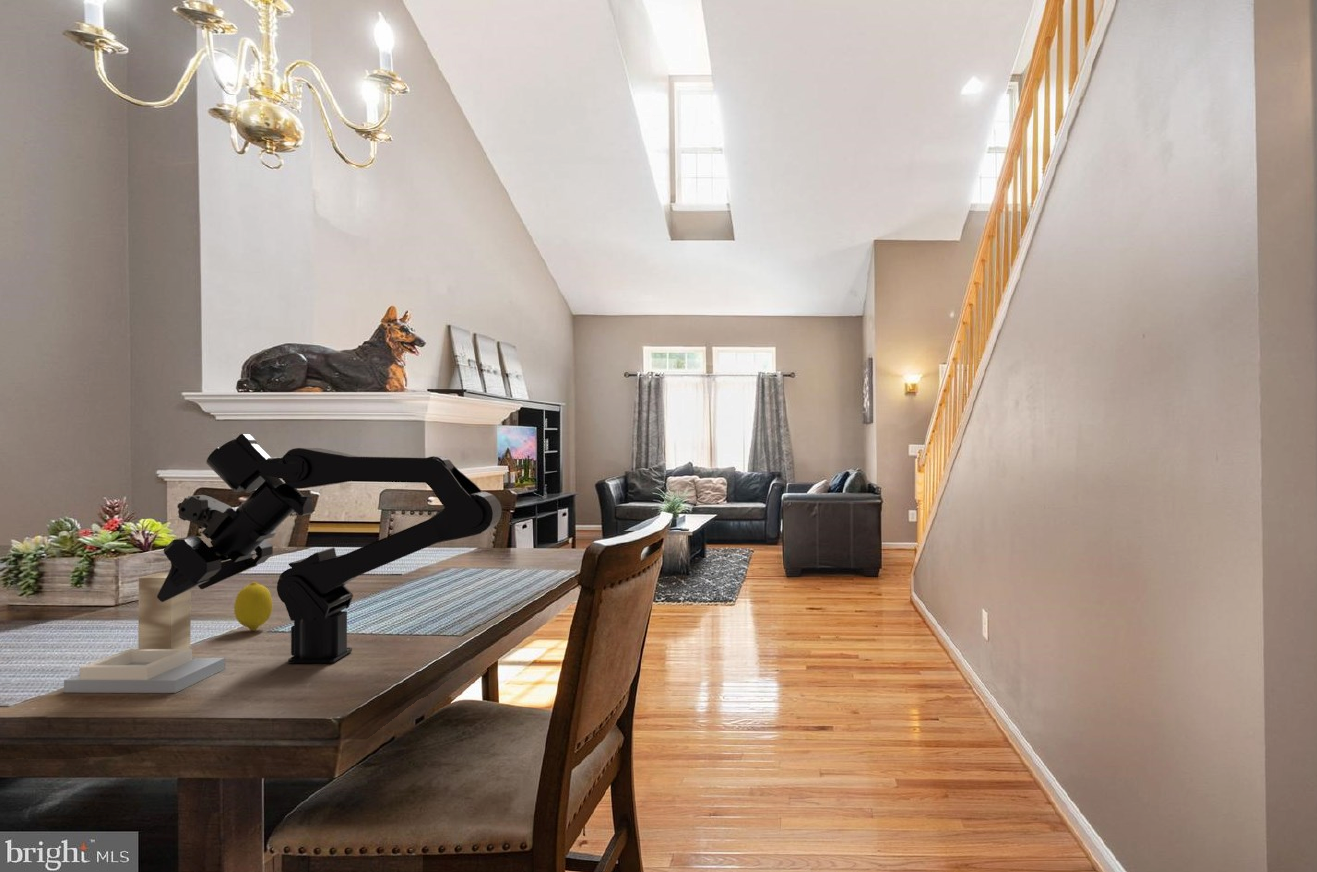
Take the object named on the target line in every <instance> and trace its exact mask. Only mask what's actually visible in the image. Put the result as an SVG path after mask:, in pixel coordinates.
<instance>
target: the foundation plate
mask: <svg viewBox="0 0 1317 872" xmlns="http://www.w3.org/2000/svg"><path fill="white" fill-rule="evenodd" d="M224 670H226V657H193V649H192V648H190V649H138V648H129V649H126V650H124V651H121V652H118V653H116V654H112V655H110V656H107V657H105V658H102V659H99V660H96V661H93V662H91V663H90V662H89V663H88V664H85V665H82V666H80V667H79V674H77V675H75V676H72V677H69V678H66V679H64V680H63V693H86V694H87V693H88V694H90V693H96V694H97V693H98V694H99V693H103V694H104V693H106V694H107V693H113V694H115V693H116V694H118V693H124V694H127V693H130V694H133V693H137V694H139V693H140V694H143V693H144V694H146V693H147V694H149V693H150V694H155V693H156V694H170V693H171V694H172V693H173V694H176V693H178V692H180V691H182V690H184V689H187V688H189V687H191V686H192V685H195V684H197V683H199V682H201V681H203V680H205V679H208V678H209V677H211V676H213V675H216V674H217V673H219V672H222V671H224Z"/></svg>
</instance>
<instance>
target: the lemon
mask: <svg viewBox="0 0 1317 872" xmlns="http://www.w3.org/2000/svg"><path fill="white" fill-rule="evenodd" d="M273 607H274V606H273V598H272V594H271V592H270V590H269V589H268V588H267V587H266V586H265V585H263V584H259V583H257V581H252V582H250V583H249V584H248V585H246V586H245V587H243V588H241V589H240V591H239V592H238V593H237V595H236V599H235V602H234V608H233V609H234V616H235V619H236V621H238V623H240V625H242V626H243V627H246V628H248V629H249V630H250V631H256V630H258V628H259V627H261V626H262V625H264V624H265V623H266V622H268V620H269V619H270V617H271V616H272V613H273Z"/></svg>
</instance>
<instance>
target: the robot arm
mask: <svg viewBox="0 0 1317 872" xmlns="http://www.w3.org/2000/svg"><path fill="white" fill-rule="evenodd" d="M206 464H207V465H208V467H209V468H210V469H212V471H214V473H215V474H216V475H218V477H219V478H220V479H221V480H223V482H224V483H225V484H226V485H227V486H228V487H229V488H230V489H231V490H232V491H233V492H234V493H241V492H245V493H246V494H249V493H251V494H250V495H249V496H248V497H247V499H245V500H244V501H243V502H242V503H241V504H240V505H239V506H235V507H233V506H231V505H229V504H226V503H224V502H222V501H221V500H219V499H216V498H214V497H211V496H208V495H205V494H197V495H196V494H195V495H189V496H187V497H184V498H183V500H182V502H179V503H178V504H177V509H178V512H177V513H178V519H180V520H182V521H183V522H184V521H188V522H190V523H192V524H194V525H196V526H199V527H201V528H204V529H203V530H202V532H201V534H203V535H204V537H205V538H206V539H210V541H209V543H210V544H211V546H208V545H207V543H206V542H205V541H204V540H203V539H202V538H201V537H199V536H184V537H180V538H174V539H173V540H171V541H170V542H169V544H167V545H166V546H165V547H164V548H163V554H164V555H165V556H166V558H167V560H168V561H169V562H170V569H169V572H168V573H169V574H168V576H167V578H166V580H165V582H164V583H163V585H162V587H161V589H160V591H159V593H158V595H157V598H158V599H159V600H160V601H161V602H164V601H166V600H169V599H171V598H173V597H175V596H177V595H179V594H181V593H183V592H186V591H188V590H190V589H191V590H192V589H194V588H195V587H198V588H199V589H200V590H204V589H207V588H208V587H211V586H214V585H215V584H218V583H220V582H223V581H225V580H228V579H230V578H232V577H234V576H236V575H239V574H241V573H243V572H246V571H247V570H251V569H253V568H256V567H257V566H258V565H260V564H263V563H265V562H266V561H267V560H268V559H269V558H270V557H271V556H273V549H274V546H273V544H271V543H270V541H269V540H268V539H272V538H274V536H275V535H276V534H277V531H276V529H277V528H278V527H279V526H280V525H281V524H282V523H283V522H285V520H286V519H288V517H290V515H291V514H292V513H293V512H295V513H296V514H297V515H298V516H300V517H301V516H306V515H312V514H313V513H314V504H313V499H314V497H313V495H303V493H301V491H299V490H300V489H309V488H320V487H326V486H332V485H339V484H345V483H349V482H350V483H351V482H354V483H355V482H359V483H360V482H362V483H410V484H411V483H416V484H418V483H419V484H421V483H422V484H426V485H427V486H428V487H430V490H432V492H433V494H435V496H436V497H437V499H438V501H439V502H440V504H441V505H442V506H443V508H442V509H441V510H440V511H438V512H437V513H436V514H434V515H433V516H432V517H430V518H428V519H427V520H424V521H422V522H420V523H417V524H415V525H412V526H410V527H407V528H405V529H403V530H399V531H398V532H396V533H393V534H390V535H388V536H385V537H383V538H381V539H379V540H376V541H373V542H371V543H369V544H367V545H364V546H361V547H360V548H357V549H355V550H354V549H353V550H352V551H350V552H347V553H345V554H339V555H337V553H336V548H335V547H330V548H327V549H324V550H321V551H317V552H314V553H313V554H311V555H309V556H308V557H305V558H302V559H300V560H299V559H298V560H295V561H293V562H289V563H288V566H289V567H290V568H288V569H286V570H284V571H283V572H282V573H281V574H280V575H279V578H278V580H277V583H276V591H277V596H278V597H279V599H280V601H281V602H282V603H284V606H285V608H286V612H287V614H288V616H289V619H290V621H293V625H291V627H290V655H291V657H289V658H288V659H287V663H289V664H332V663H335V662H336V661H338V660H339V659H341V658H344V656H346V655H348V654H349V653H351V652H352V651H353V648H352V647H348V611H344V610H346V609H348V608H349V607H350V605H351V602H352V600H353V597H354V594H353V592H352V591H351V590H350V589H349V588H347V587H346V585H347V584H349V583H350V582H351V581H353V580H354V579H355V578H357V577H359V576H362V575H363V574H366V573H368V572H371V571H372V570H375V569H378V568H380V567H382V566H385V565H387V564H390V563H392V562H394V561H397V560H399V559H402V558H404V557H407V556H409V555H411V554H415V553H416V552H419V551H421V550H424V549H426V548H428V547H430V546H433V545H435V544H438V543H439V544H440V543H444V542H449V541H455V540H459V539H464V538H468V537H473V536H476V535H480V534H482V533H484V532H486V531H488V530H490V529H491V530H492V529H493V528H495V527H496V526H497V525H498V524H499V522H500V519H501V517H502V510H503V509H502V506H501V505H502V504H501V503H500V501H499V499H498V498H497V497H496V496H495V495H494V494H492V493H490V492H487V491H482V490H481V488H480V487H479V486H478V485H477V484H476V483H475V482H474V481H472V480H471V479H470V478H469V477H468V476H466V475H465V474H464V473H463V472H461V470H459V469H458V468H457V467H456V466H455V465H454V464H453V462H452V461H451V460H450V458H447V457H446V456H441V455H440V456H439V455H438V456H436V455H434V456H433V455H432V456H428V457H411V456H409V457H406V456H403V457H402V456H400V457H399V456H362V455H361V456H359V455H353V454H348V453H345V452H341V451H336V450H330V449H327V448H318V447H296V448H291V449H290V450H287V451H286V452H285V454H284V455H283V456H282V457H271V456H270V455H269V454H268V453H267V452H266V451H265V450H264V449H263V448H262V447H261V446H260V445H259V444H258V442H257V440H256V439H255V438H254V437H253V436H252V435H251V434H250V433H240V434H239V435H238V436H237V437H236V438H235V439H234V438H233V439H232V440H230V441H227V442H225V443H224V444H223V445H221V446H219V447H216V448H215V449H214V450H213V451H212V452H211V453H210V454H209V456H207V458H206ZM255 555H256V557H255ZM253 557H255V558H253Z"/></svg>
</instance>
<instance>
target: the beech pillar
mask: <svg viewBox="0 0 1317 872" xmlns="http://www.w3.org/2000/svg"><path fill="white" fill-rule="evenodd" d="M168 574H169V572H156V573H154V574H148V575H145V576H141V577H138V628H137V629H138V632H137V633H138V636H137V637H138V638H137V639H138V643H137V644H138V645H137V649H191V647H192V646H191V643H192V642H191V640H192V639H191V637H192V636H191V635H192V634H191V633H192V632H191V629H192V627H191V626H192V625H191V624H192V621H191V620H192V612H191V611H192V610H191V607H192V601H191V600H192V589H190V590H188V591H186V592H183V593H181V594H179V595H177V596H175V597H173V598H171V599H169V600H166V601H164V602H161V601H160V600H159V599H158V598H157V595H158V593H159V591H160V589H161V587H162V585H163V583H164V582H165V580H166V578H167V576H168Z"/></svg>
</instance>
